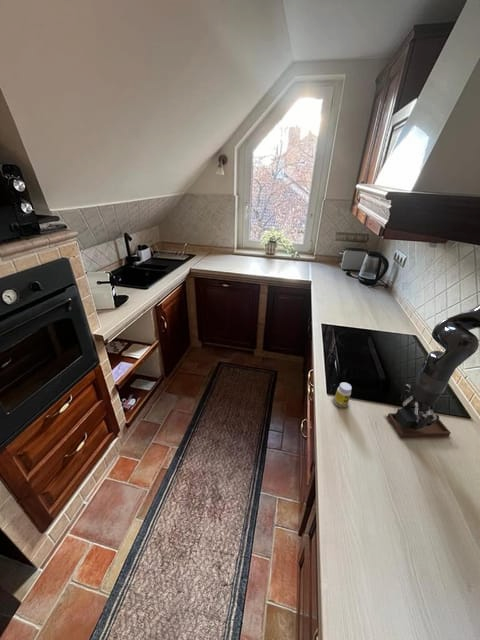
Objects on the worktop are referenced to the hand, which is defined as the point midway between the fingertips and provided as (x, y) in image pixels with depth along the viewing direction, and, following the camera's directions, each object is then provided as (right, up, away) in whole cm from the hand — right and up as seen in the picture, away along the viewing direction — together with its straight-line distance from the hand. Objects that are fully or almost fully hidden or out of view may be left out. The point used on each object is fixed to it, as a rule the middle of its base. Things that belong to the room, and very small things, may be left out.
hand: (408, 420), depth 84 cm
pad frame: (+4, -3, +2) cm, 5 cm away
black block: (0, 0, 0) cm, 0 cm away
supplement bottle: (-19, +3, +10) cm, 22 cm away
